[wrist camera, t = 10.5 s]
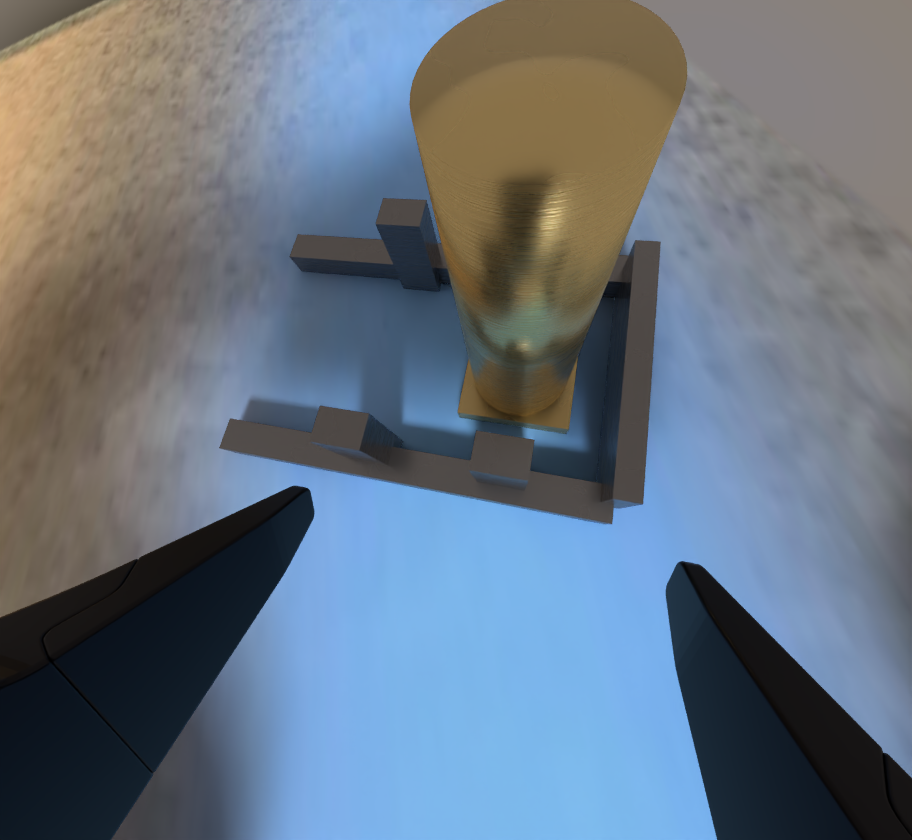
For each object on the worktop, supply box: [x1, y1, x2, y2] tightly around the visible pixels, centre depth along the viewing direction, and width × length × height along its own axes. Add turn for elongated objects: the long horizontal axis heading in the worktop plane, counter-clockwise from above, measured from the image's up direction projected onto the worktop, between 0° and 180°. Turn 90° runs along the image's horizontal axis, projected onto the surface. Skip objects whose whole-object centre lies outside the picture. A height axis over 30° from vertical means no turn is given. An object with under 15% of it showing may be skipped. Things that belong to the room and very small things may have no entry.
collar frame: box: [219, 198, 661, 524], centre depth 17 cm, size 16×18×4 cm
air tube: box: [410, 0, 687, 434], centre depth 12 cm, size 5×5×12 cm
